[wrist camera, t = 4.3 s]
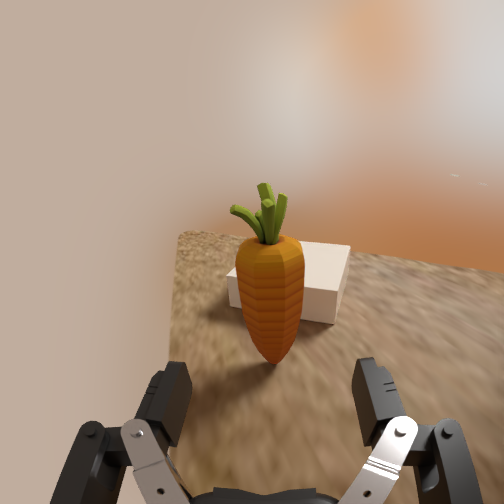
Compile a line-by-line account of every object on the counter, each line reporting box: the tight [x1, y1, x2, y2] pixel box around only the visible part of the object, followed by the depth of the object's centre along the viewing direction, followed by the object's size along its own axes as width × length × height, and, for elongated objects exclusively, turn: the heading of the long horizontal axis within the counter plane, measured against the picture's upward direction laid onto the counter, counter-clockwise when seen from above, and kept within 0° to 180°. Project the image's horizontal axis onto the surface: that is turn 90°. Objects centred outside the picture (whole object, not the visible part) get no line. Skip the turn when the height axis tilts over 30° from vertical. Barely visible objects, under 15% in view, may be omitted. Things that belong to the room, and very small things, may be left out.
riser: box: [226, 241, 350, 324], centre depth 34 cm, size 12×12×4 cm
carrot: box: [230, 183, 305, 364], centre depth 20 cm, size 5×5×15 cm
